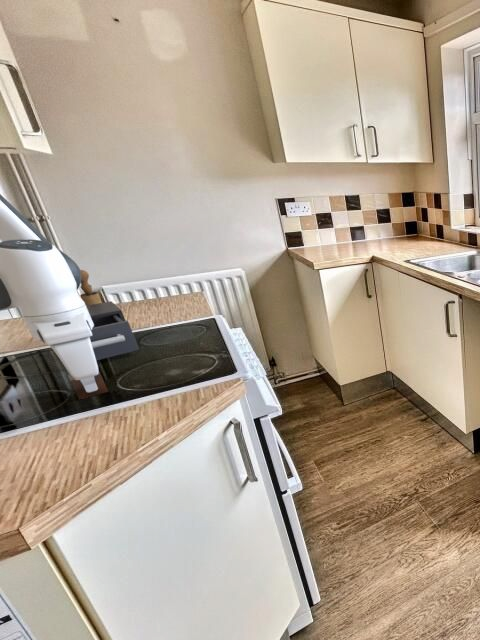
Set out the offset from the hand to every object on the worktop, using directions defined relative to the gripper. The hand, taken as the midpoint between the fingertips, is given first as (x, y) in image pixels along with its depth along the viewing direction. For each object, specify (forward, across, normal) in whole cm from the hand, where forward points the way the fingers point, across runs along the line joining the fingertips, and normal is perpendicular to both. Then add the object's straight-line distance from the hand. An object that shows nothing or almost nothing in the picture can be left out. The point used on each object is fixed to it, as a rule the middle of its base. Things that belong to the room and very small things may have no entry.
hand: (89, 385), depth 89 cm
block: (+2, 0, 0) cm, 2 cm away
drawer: (+1, -23, +6) cm, 24 cm away
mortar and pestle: (+2, -51, +9) cm, 52 cm away
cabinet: (+2, -36, +6) cm, 37 cm away
